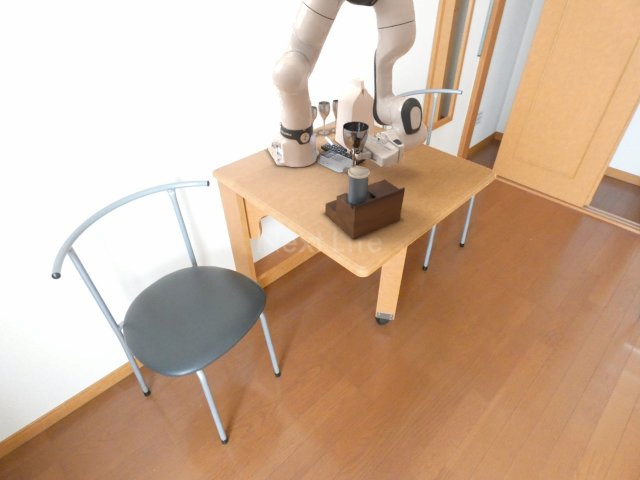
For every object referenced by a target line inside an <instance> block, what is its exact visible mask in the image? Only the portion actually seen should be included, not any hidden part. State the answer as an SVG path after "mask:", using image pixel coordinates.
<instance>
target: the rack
mask: <svg viewBox="0 0 640 480" xmlns="http://www.w3.org/2000/svg"><path fill="white" fill-rule="evenodd" d="M405 191H406V187H401V188H399V187H397V186H395V185H394V184H392V183H391V182H390V181H388V180H386V179H385V178H384V179H382V180H379V181H376V182H373V183H370V184H368V192H367V201H366V202H363V203H360V204H357V205H355V204H351V203H350V202H348V200H347V192H344V193H341V194H339V195H336V199H334V200H331V201H329V202H326V203H324V204H325V208H324V209H325V210H324V211H325V212H324V214H325V216H327V217H328V218H329V219H330V220H331V221H332V222H333V223H335V225H336V226H338V227H339V228H340V229H341V230H342V232H344V233H345V234H346V235H348V237H350V239H352V240H355V239H357V238H359V237H362V236H365V235H367V234H370V233H372V232H374V231H376V230H379V229H381V228H383V227H386V226H388V225H391V224H393V223H395V222H398V221H400V220H401V217H402V216H401V215H402V209H403V203H404V198H405Z"/></svg>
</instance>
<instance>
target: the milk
mask: <svg viewBox="0 0 640 480" xmlns="http://www.w3.org/2000/svg"><path fill="white" fill-rule="evenodd" d="M364 81H365V80H362V79H360V78H358V77H357V76H352V77H351V80H350V82H349V85H348V86H347V87H346V88H345V89H344V90H343V91H342V92H341V93H340V94H339V96H338V99H337V100H338V111H337V121H336V132H335V138H334V142H336V143H337V144H339V145H340V146H342V147H343V148H344V149H345V150H346V151H347V150H348V148H347V147H346V145H345V144H344V140H343V125H344V124H345V123H348V122H363V123H366V124H367V125H368V126H369V132H368V133H369V134H371V135H372V136H374V135H375V134H374V133H375V119H374V117H373V103H374V96H372V95H371V94H370V93H369V91H368V89H367V88H366V87H365V82H364ZM374 137H375V136H374Z"/></svg>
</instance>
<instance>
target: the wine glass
mask: <svg viewBox="0 0 640 480" xmlns="http://www.w3.org/2000/svg"><path fill="white" fill-rule="evenodd" d="M368 132H369V126H368V125H367V124H366V123H363V122H348V123H345V124H344V125H343V140H344V144H345V145H346V147H347V148H348V149H349V150H350V151H351V153H352V155H351V156H352V157H351V158H352V164H349V165H346V166H344V167H343V168H342V172H343V173H344V174H345V175H347V176H348V170H349V169H350V168H352V167H355V166H358V165H357V164H356V159H355V153H358V152H359V151H360V150H361V149H362V148H363V147H364V146H365V144H366V141H367V138H368Z"/></svg>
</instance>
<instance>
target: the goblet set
mask: <svg viewBox="0 0 640 480" xmlns="http://www.w3.org/2000/svg"><path fill="white" fill-rule="evenodd" d="M338 100H339V99H333V100H332V103H331V102H330V101H327V100H326V101H324V100H322V101H319V102H318V105H317V106H314V105H311V110H312V123H313V124H314V123H315V121H316V120H317V117H318V115H319V116H320V117H321V119H322V122H323V129H322V130H319V131H318V133H317V132H314V131H313V134H314V135H315V137H317V136H318V134H319V135H323V136H325V135H329V134H330V131H329V130H326V127H325V126H326V125H325V124H326V120H327V118H328V117H329V115H330V112H331V111H332V113H333V117H334V120H335V122H334V123H335V124H334V125H335V127H334V128H332V129H331V132H332V133H336V124H337V111H338Z"/></svg>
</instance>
